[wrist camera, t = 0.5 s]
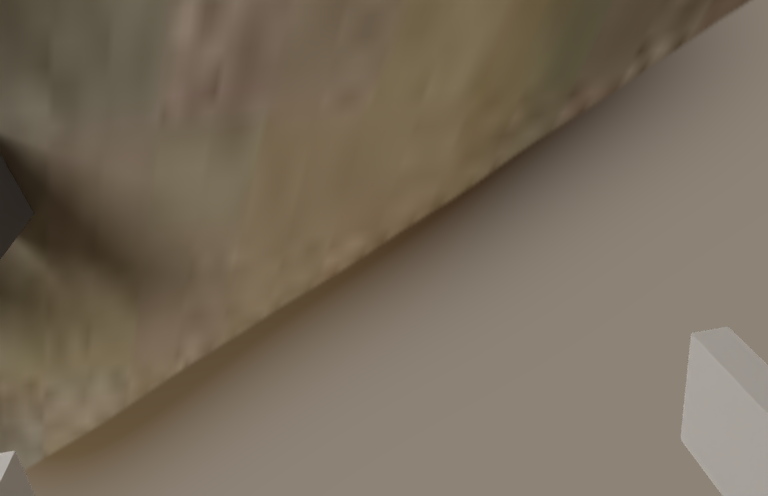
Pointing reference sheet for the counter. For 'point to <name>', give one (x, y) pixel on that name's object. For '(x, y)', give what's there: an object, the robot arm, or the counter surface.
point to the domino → (11, 209)
